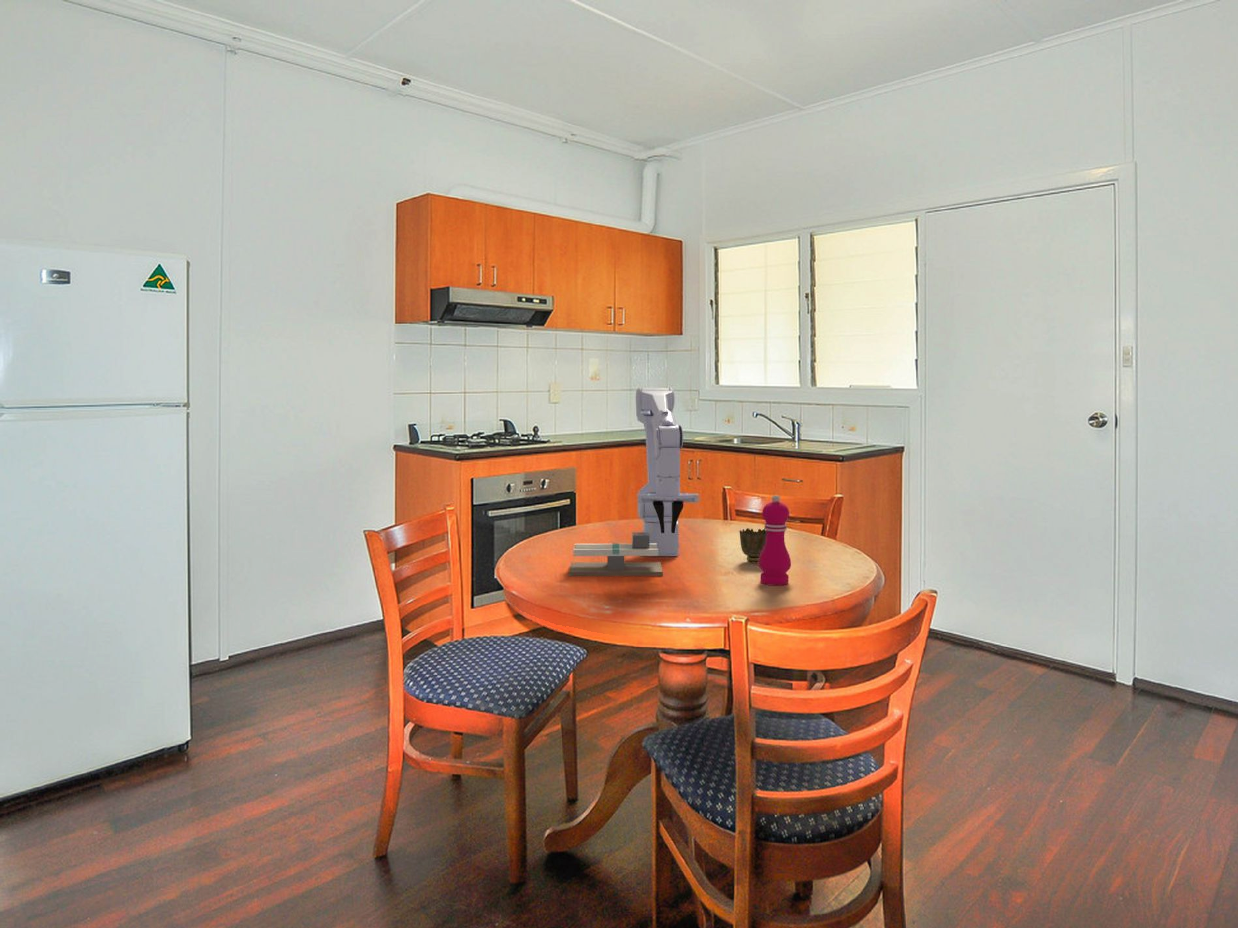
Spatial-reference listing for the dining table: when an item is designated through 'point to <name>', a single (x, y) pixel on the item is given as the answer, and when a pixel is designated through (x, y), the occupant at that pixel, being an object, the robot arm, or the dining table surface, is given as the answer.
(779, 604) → the dining table surface
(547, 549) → the dining table surface
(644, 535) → the rider
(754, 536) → the cup
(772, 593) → the dining table surface
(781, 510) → the pepper mill
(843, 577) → the dining table surface
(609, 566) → the balance stand
